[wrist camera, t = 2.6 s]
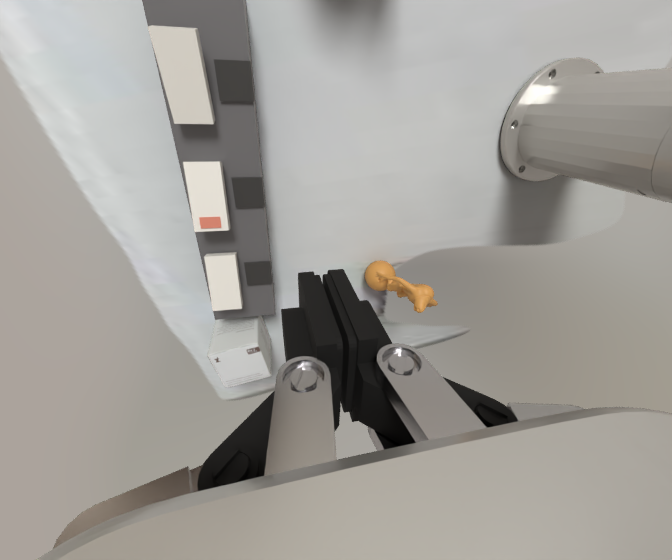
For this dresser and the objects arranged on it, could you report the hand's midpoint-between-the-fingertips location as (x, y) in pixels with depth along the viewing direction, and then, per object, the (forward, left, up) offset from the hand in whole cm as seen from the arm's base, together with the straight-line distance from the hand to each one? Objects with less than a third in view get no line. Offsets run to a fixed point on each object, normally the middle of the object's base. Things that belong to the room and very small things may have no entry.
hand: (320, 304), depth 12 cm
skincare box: (+7, +21, -26) cm, 34 cm away
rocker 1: (+7, -8, -20) cm, 23 cm away
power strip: (+6, -2, -25) cm, 26 cm away
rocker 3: (+7, +10, -20) cm, 23 cm away
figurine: (-12, +12, -26) cm, 31 cm away
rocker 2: (+7, +1, -20) cm, 21 cm away
